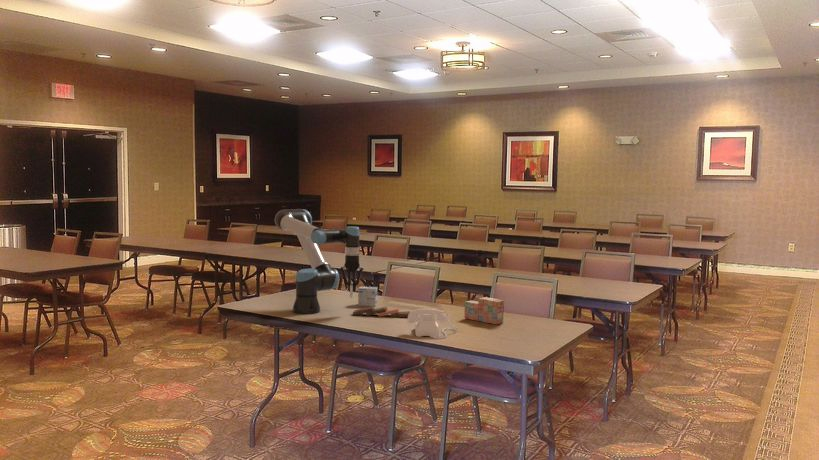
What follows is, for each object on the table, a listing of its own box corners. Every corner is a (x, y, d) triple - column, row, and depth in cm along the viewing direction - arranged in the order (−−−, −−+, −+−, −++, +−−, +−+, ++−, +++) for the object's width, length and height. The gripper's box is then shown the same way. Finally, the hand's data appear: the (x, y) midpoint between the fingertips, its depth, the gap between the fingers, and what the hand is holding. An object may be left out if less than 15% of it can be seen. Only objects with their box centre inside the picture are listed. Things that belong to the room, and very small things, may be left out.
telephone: (457, 329, 321) (457, 305, 321) (460, 339, 301) (461, 313, 300) (407, 328, 321) (407, 304, 320) (407, 338, 301) (407, 312, 300)
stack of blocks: (463, 318, 348) (464, 296, 347) (470, 316, 353) (471, 294, 352) (497, 324, 334) (497, 301, 333) (503, 322, 339) (504, 299, 338)
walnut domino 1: (353, 312, 350) (372, 308, 349) (354, 310, 356) (373, 306, 355) (353, 315, 350) (373, 311, 349) (355, 313, 356) (374, 309, 355)
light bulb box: (377, 304, 383) (377, 286, 382) (375, 306, 376) (376, 288, 376) (359, 303, 384) (360, 286, 383) (357, 306, 377) (358, 287, 377)
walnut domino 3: (391, 314, 347) (411, 313, 346) (392, 311, 353) (412, 311, 352) (391, 317, 347) (411, 316, 346) (392, 315, 353) (412, 314, 352)
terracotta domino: (377, 313, 348) (397, 309, 347) (379, 311, 354) (398, 307, 353) (378, 316, 348) (398, 312, 347) (380, 314, 354) (399, 310, 353)
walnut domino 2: (365, 313, 349) (385, 308, 348) (367, 310, 355) (386, 306, 354) (366, 316, 349) (386, 311, 348) (368, 314, 355) (387, 309, 354)
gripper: (339, 255, 348) (338, 298, 349) (362, 255, 346) (362, 299, 348) (342, 253, 355) (341, 295, 357) (365, 254, 354) (364, 296, 355)
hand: (351, 297), depth 352 cm, fingers closed
